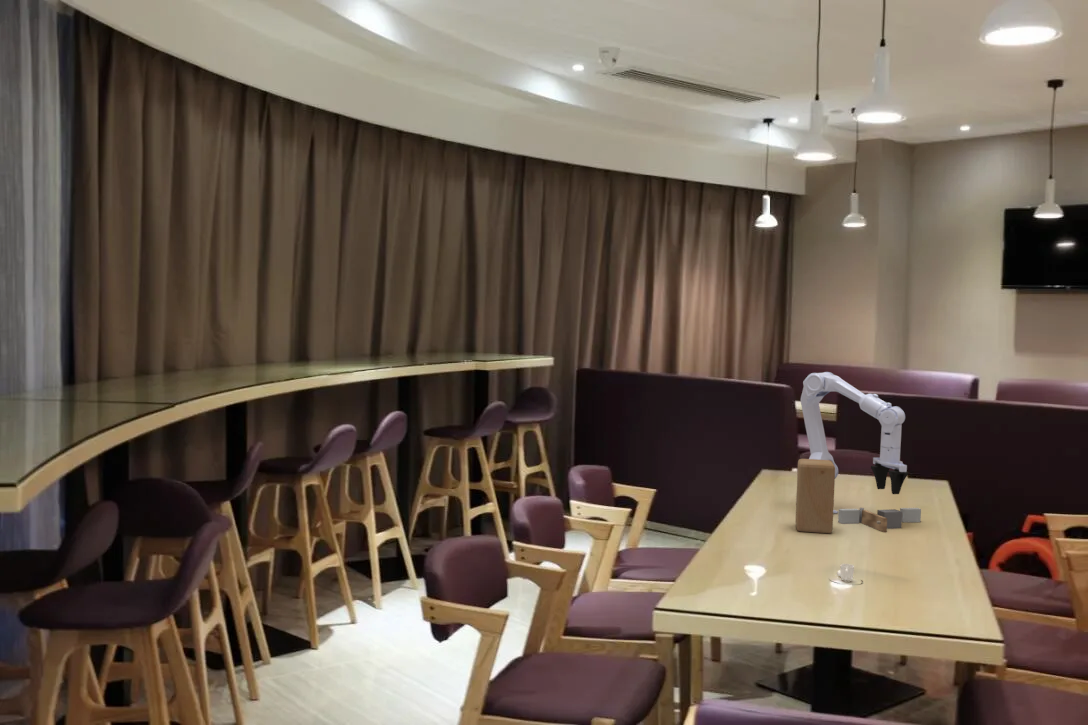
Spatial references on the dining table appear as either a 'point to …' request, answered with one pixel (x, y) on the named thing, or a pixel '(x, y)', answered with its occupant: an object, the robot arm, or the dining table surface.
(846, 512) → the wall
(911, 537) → the dining table surface
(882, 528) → the door
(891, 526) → the grey rectangular block
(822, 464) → the wooden block
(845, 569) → the teacup and saucer
